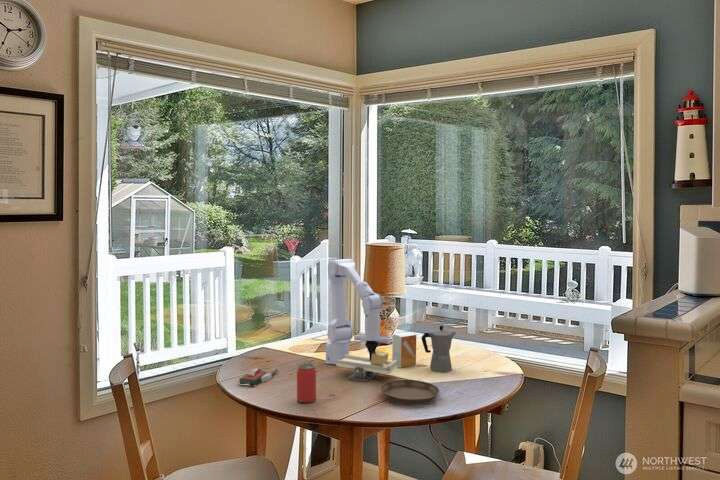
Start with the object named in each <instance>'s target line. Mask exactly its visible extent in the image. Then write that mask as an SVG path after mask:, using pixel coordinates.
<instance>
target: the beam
mask: <svg viewBox="0 0 720 480" xmlns="http://www.w3.org/2000/svg"><path fill="white" fill-rule="evenodd" d="M335 365H336V367H341V368H347V369H354V370H355V367H359V368H363V370H364V371H370V372H377V373H378V374H382V375H383V374H384V375H391V374H392V373H393V372H394V371H395V370H396V369H397V368H398V366H397V360H394V361H391V360H387V366H385V367H383V366H377V365H371V361H370V357H365V356H359V355H351V354H349V355H347V354H345V358H344V359H342V360H338V359H337V363H336V364H335Z"/></svg>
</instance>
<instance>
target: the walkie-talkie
mask: <svg viewBox="0 0 720 480" xmlns="http://www.w3.org/2000/svg"><path fill="white" fill-rule="evenodd" d="M277 372H279V369H277V368H276V369H275V370H273V371H271V372H269V373H268V372H267V371H265V370H261V368H259V367H254V368H252V369H251V370H250V371H249V372H248V373H246V374H245V375H242V376H241V377H239V380H238V383H240V384H249V385H251V386H250V387H255V386H254V385H256V384H257V383H258V384H260V383H264V382H263V381H266V382H268V381H270V380H271V379H273V377H272V376H274V375H276V373H277ZM269 379H270V380H269ZM267 380H268V381H267ZM259 382H260V383H259ZM258 384H257V385H258ZM257 385H256V386H257Z"/></svg>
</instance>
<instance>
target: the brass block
mask: <svg viewBox="0 0 720 480" xmlns="http://www.w3.org/2000/svg"><path fill="white" fill-rule="evenodd" d="M388 359H389V352H386V351H381V350H375V352H373V353H372V357H371V365H377V366H383V367H385V366H387V361H389V360H388Z"/></svg>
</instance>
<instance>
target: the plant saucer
mask: <svg viewBox="0 0 720 480" xmlns="http://www.w3.org/2000/svg"><path fill="white" fill-rule="evenodd" d="M380 391H381V393H382V394H383V396H385V398H386V399H387V400H389V401H391V402H393V403H396V404H399V405H400V404H401V405H407V406H416V405H417V406H419V405H426V404H428V403H430V402H432V401H433V400H435V398H437V396H439V393H440V389H439V387H437V385H434V384H433V383H430V382H426V381H423V380H415V379H396V380H391V381H387V382H385V383H383V384H382V385H381V386H380Z"/></svg>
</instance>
